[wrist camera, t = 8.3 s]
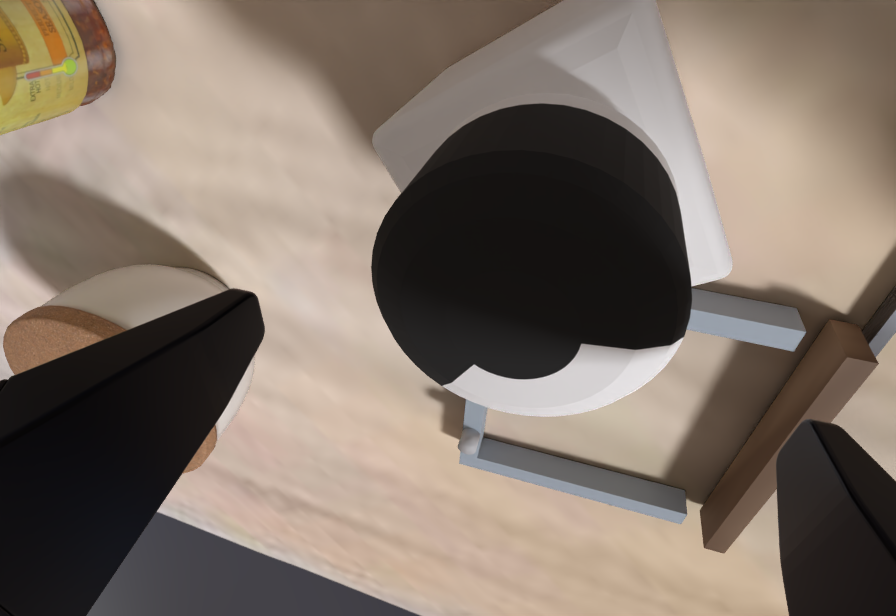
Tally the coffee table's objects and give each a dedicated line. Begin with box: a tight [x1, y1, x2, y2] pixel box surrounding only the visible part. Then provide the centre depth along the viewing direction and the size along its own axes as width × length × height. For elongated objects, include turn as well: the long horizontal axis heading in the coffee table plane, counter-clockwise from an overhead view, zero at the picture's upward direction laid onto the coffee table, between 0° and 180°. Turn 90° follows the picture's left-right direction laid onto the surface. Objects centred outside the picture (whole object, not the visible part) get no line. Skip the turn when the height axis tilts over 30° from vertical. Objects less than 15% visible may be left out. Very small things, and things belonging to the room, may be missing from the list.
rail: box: [862, 286, 896, 358], centre depth 21 cm, size 1×23×1 cm, turn 178°
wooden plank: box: [700, 319, 879, 553], centre depth 23 cm, size 1×14×2 cm, turn 178°
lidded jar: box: [3, 265, 255, 473], centre depth 27 cm, size 11×11×9 cm
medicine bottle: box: [371, 0, 732, 417], centre depth 14 cm, size 7×7×12 cm
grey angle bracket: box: [458, 288, 806, 524], centre depth 25 cm, size 12×14×2 cm
